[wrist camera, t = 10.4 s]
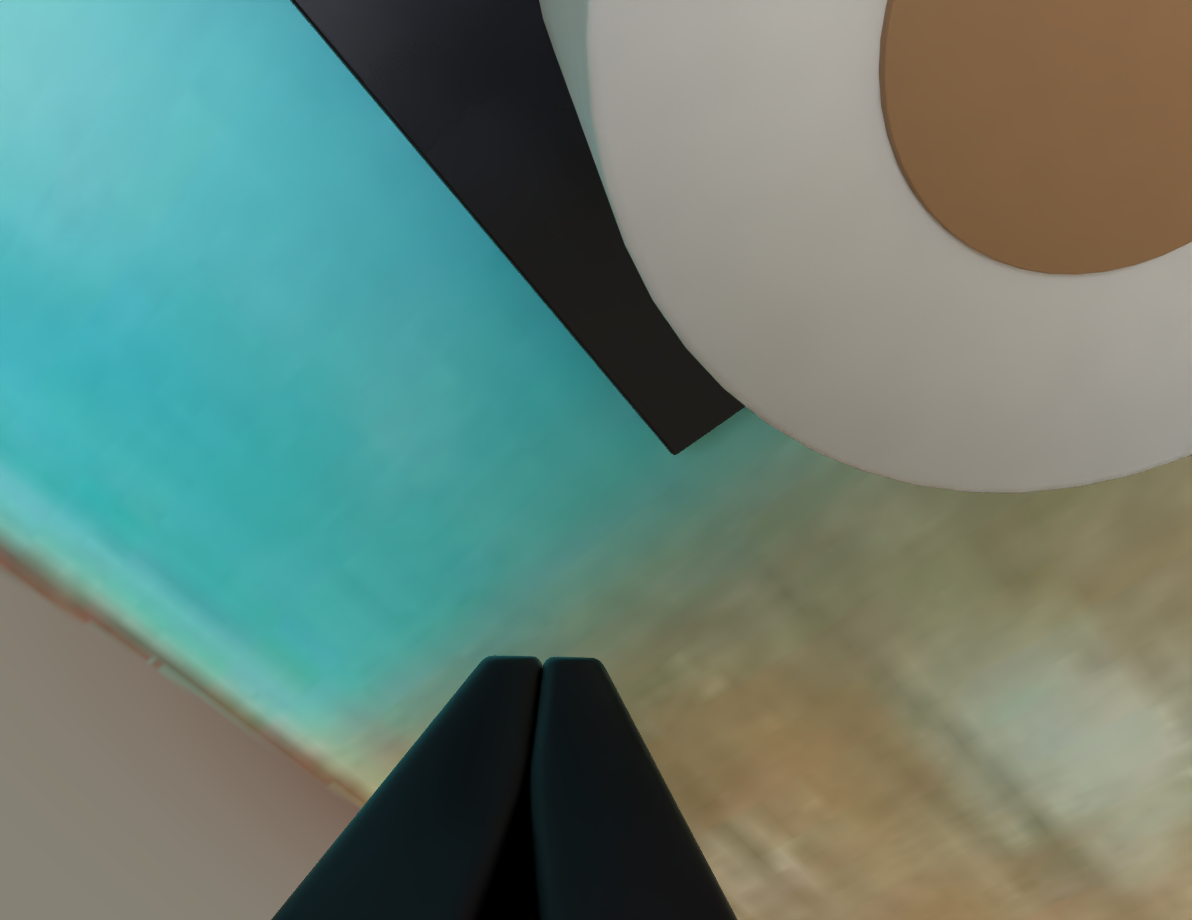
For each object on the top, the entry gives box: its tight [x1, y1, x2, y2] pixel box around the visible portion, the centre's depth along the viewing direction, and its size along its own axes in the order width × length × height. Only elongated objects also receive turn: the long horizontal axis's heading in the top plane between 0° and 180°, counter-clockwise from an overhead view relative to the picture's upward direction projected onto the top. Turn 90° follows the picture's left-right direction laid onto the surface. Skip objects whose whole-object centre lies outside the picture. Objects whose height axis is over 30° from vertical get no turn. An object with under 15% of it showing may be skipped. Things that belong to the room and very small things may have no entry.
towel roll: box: [539, 0, 1192, 493], centre depth 12 cm, size 9×14×10 cm, turn 83°
